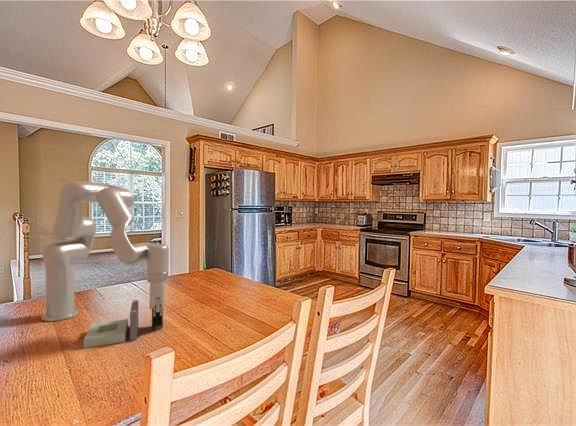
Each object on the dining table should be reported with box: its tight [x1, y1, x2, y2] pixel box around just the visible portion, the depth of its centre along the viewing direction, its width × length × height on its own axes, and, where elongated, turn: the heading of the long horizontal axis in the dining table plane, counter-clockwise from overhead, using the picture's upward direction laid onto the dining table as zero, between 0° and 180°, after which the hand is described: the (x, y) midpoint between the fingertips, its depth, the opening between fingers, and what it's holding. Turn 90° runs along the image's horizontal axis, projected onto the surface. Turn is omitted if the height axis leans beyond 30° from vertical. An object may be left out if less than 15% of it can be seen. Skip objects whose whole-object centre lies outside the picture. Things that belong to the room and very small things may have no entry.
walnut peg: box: [151, 306, 164, 331], centre depth 114 cm, size 4×4×10 cm
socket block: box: [83, 318, 129, 349], centre depth 106 cm, size 14×12×3 cm
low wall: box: [129, 299, 139, 342], centre depth 110 cm, size 14×2×10 cm, turn 24°
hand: (157, 323), depth 114 cm, fingers closed on walnut peg, 4 cm apart
